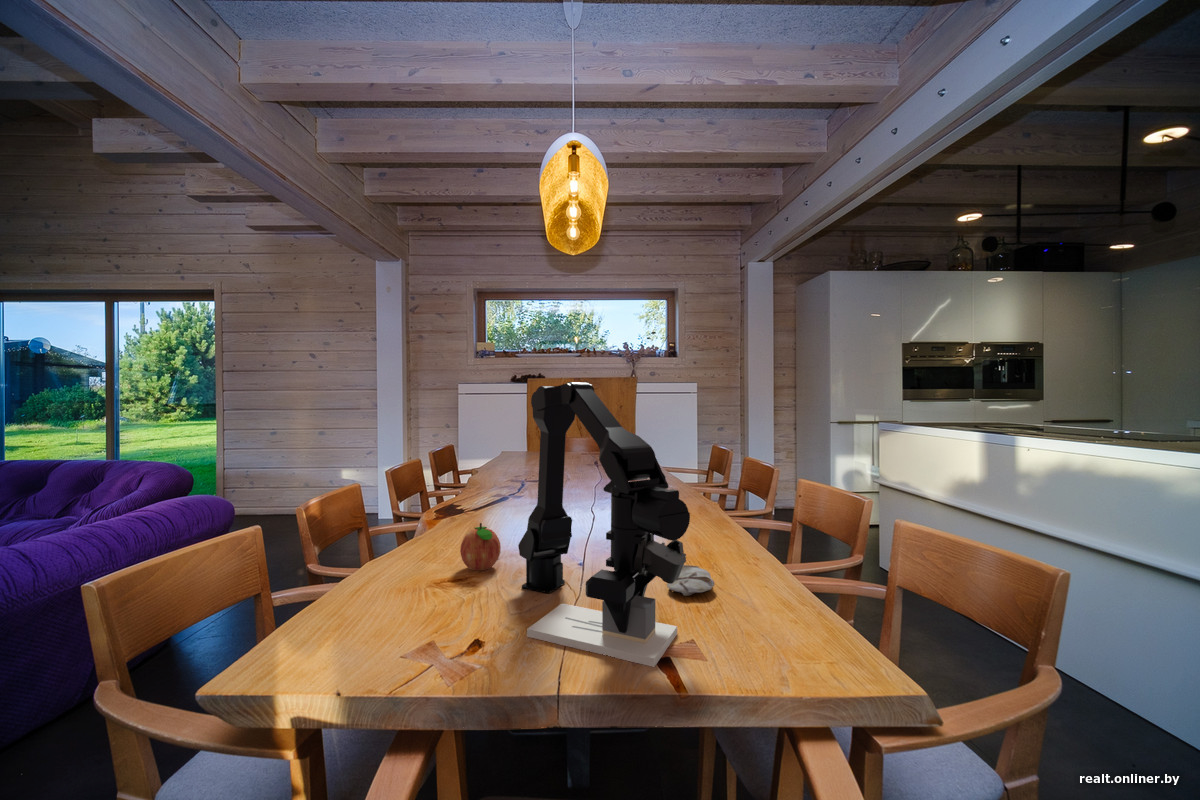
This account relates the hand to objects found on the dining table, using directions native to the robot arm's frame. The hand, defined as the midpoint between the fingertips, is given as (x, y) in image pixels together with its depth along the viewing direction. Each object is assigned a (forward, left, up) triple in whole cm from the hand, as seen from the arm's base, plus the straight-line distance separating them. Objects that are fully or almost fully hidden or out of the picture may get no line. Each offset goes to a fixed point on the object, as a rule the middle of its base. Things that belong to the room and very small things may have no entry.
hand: (628, 625), depth 78 cm
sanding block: (0, 0, -1) cm, 1 cm away
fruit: (-42, +17, -3) cm, 45 cm away
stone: (+3, +25, -3) cm, 26 cm away
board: (-4, 0, -2) cm, 5 cm away
